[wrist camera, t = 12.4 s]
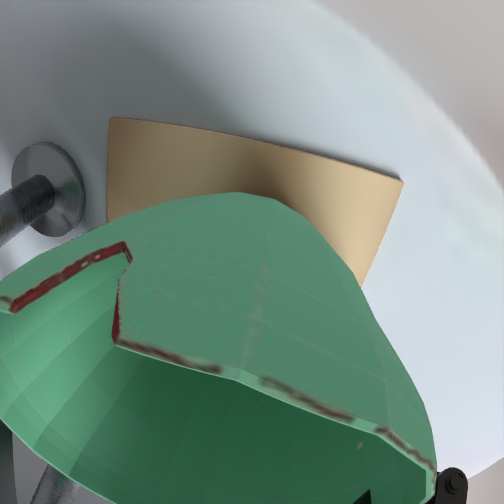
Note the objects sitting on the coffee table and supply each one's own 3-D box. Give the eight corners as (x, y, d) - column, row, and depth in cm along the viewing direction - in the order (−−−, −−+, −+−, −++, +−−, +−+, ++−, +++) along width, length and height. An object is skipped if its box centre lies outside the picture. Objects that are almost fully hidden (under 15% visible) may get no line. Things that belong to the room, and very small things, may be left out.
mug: (289, 76, 10) (156, 26, 1) (407, 288, 13) (459, 517, 4) (59, 257, 16) (-60, 381, 7) (169, 376, 19) (109, 515, 10)
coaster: (117, 324, 18) (115, 327, 18) (113, 117, 12) (109, 118, 12) (313, 375, 18) (313, 379, 17) (402, 180, 11) (404, 182, 11)
